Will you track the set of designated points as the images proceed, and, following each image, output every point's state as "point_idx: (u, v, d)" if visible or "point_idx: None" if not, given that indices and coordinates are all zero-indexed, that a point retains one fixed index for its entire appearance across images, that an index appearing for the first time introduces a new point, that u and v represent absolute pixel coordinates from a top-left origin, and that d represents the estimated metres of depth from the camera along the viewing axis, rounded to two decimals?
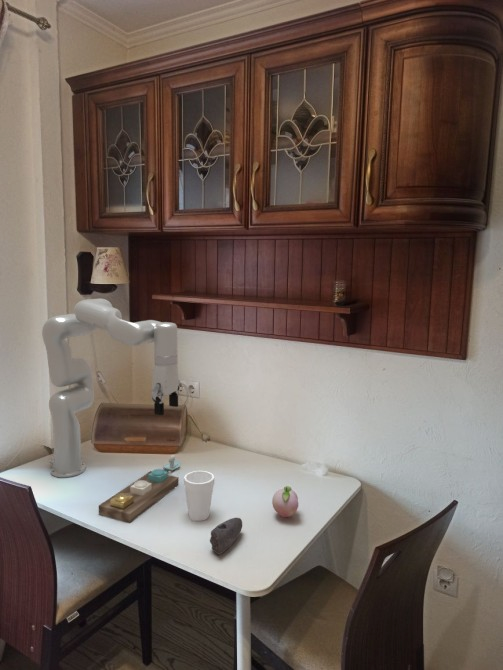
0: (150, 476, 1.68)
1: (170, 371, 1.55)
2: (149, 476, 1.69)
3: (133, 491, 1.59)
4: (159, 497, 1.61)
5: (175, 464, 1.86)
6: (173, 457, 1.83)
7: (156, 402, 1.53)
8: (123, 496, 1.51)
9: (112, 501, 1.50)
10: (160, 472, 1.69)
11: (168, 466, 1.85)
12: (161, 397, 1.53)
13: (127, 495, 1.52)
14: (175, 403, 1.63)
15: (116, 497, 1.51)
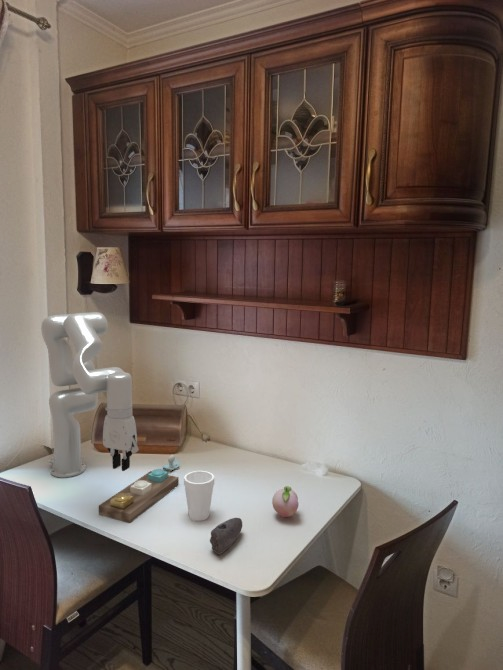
0: (150, 476, 1.68)
1: None
2: (149, 476, 1.69)
3: (133, 491, 1.59)
4: (159, 497, 1.61)
5: (174, 464, 1.87)
6: (172, 457, 1.83)
7: None
8: (123, 496, 1.51)
9: (112, 501, 1.50)
10: (160, 472, 1.69)
11: (167, 466, 1.85)
12: None
13: (127, 495, 1.52)
14: (119, 462, 1.51)
15: (116, 497, 1.51)
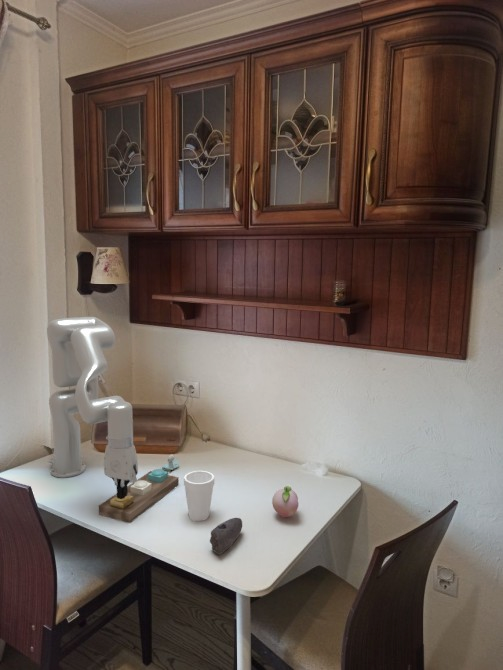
0: (150, 476, 1.68)
1: None
2: (149, 476, 1.69)
3: (133, 491, 1.59)
4: (159, 497, 1.61)
5: (174, 464, 1.87)
6: (172, 457, 1.83)
7: None
8: None
9: (112, 501, 1.50)
10: (160, 472, 1.69)
11: (167, 466, 1.86)
12: None
13: (127, 495, 1.52)
14: None
15: (116, 497, 1.51)
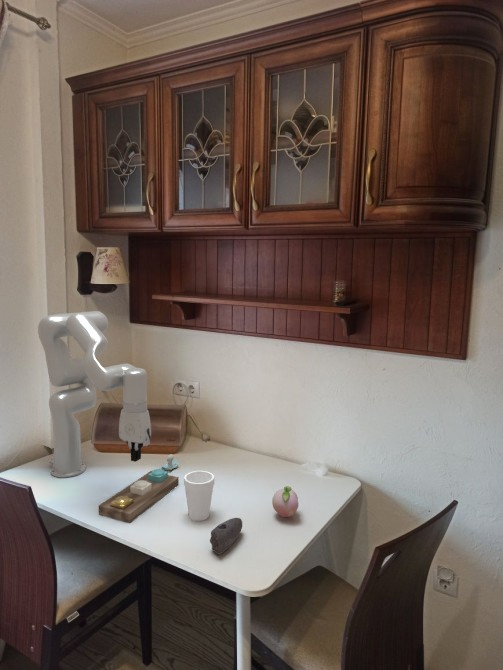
0: (150, 476, 1.68)
1: None
2: (149, 476, 1.69)
3: (133, 491, 1.59)
4: (159, 497, 1.61)
5: (173, 463, 1.87)
6: (171, 456, 1.84)
7: None
8: (123, 499, 1.52)
9: (112, 504, 1.50)
10: (160, 472, 1.69)
11: (166, 465, 1.86)
12: None
13: (127, 498, 1.52)
14: None
15: (116, 500, 1.51)
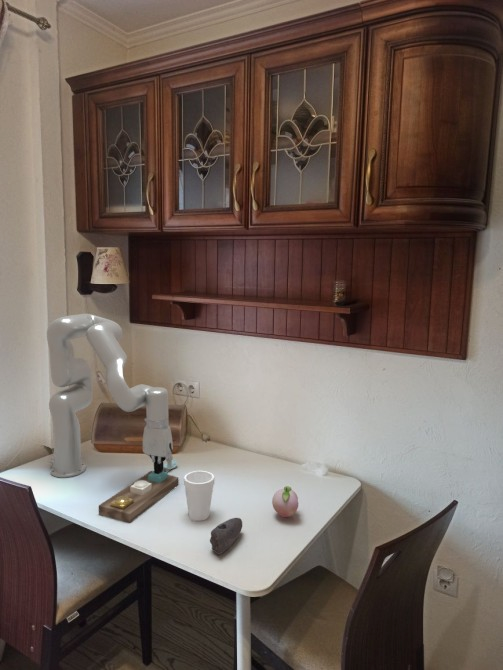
0: (150, 477, 1.68)
1: None
2: (149, 477, 1.69)
3: (133, 491, 1.59)
4: (159, 497, 1.61)
5: (173, 463, 1.87)
6: None
7: None
8: (123, 499, 1.52)
9: (112, 504, 1.50)
10: (160, 473, 1.69)
11: (166, 465, 1.86)
12: None
13: (127, 498, 1.52)
14: None
15: (116, 500, 1.51)
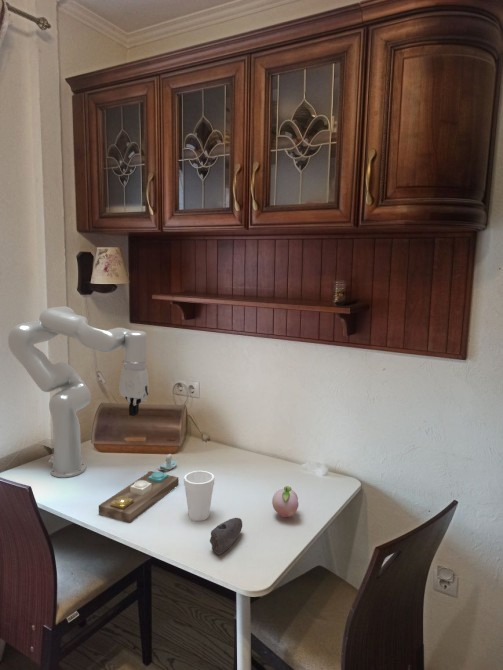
0: (150, 479, 1.69)
1: None
2: (149, 479, 1.69)
3: (133, 491, 1.59)
4: (159, 497, 1.61)
5: (172, 463, 1.87)
6: (170, 456, 1.84)
7: None
8: (123, 499, 1.52)
9: (112, 504, 1.50)
10: (160, 475, 1.69)
11: (165, 465, 1.86)
12: None
13: (127, 498, 1.52)
14: None
15: (116, 500, 1.51)
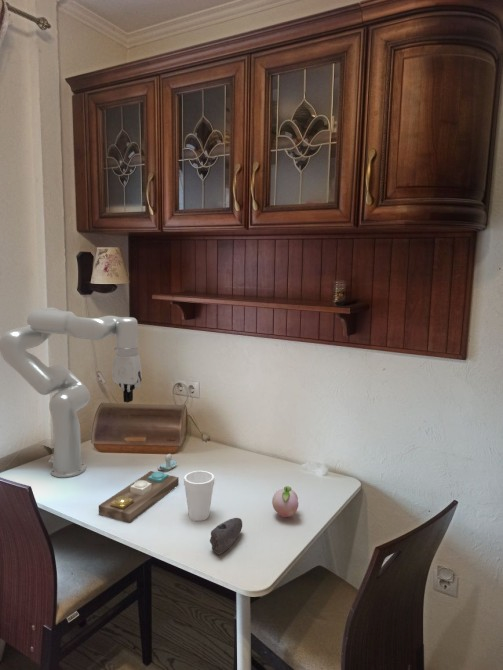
0: (150, 479, 1.69)
1: None
2: (149, 479, 1.69)
3: (133, 491, 1.59)
4: (159, 497, 1.61)
5: (171, 463, 1.87)
6: (169, 456, 1.84)
7: None
8: (123, 499, 1.52)
9: (112, 504, 1.50)
10: (160, 475, 1.69)
11: (164, 465, 1.86)
12: None
13: (127, 498, 1.52)
14: None
15: (116, 500, 1.51)
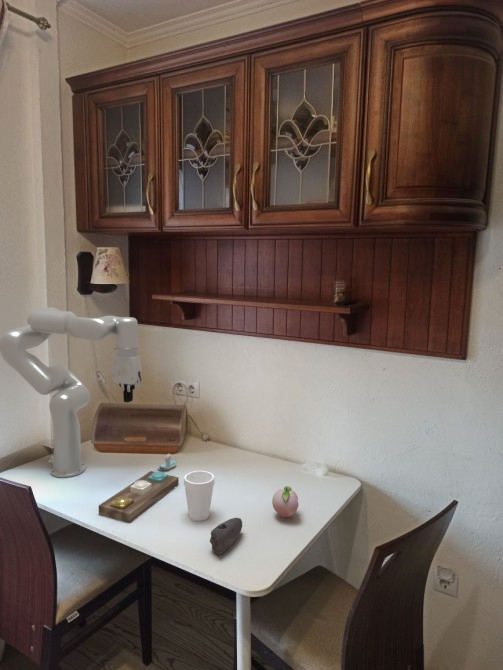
0: (150, 479, 1.69)
1: None
2: (149, 479, 1.69)
3: (133, 491, 1.59)
4: (159, 497, 1.61)
5: (171, 463, 1.87)
6: (169, 456, 1.84)
7: None
8: (123, 499, 1.52)
9: (112, 504, 1.50)
10: (160, 475, 1.69)
11: (164, 465, 1.86)
12: None
13: (127, 498, 1.52)
14: None
15: (116, 500, 1.51)
